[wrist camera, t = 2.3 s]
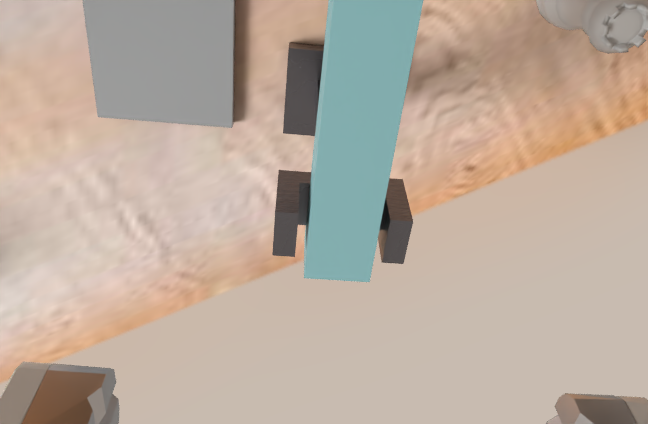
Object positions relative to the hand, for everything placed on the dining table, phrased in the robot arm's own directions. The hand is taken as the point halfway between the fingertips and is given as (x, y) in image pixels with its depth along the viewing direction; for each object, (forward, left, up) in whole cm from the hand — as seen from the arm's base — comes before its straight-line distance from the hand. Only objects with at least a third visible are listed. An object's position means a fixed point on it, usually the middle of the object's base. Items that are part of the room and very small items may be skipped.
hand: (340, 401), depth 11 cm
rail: (-1, +1, -16) cm, 16 cm away
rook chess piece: (-1, +15, -31) cm, 34 cm away
